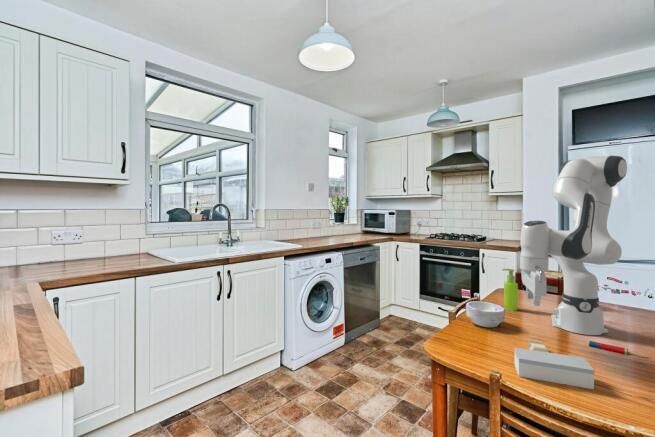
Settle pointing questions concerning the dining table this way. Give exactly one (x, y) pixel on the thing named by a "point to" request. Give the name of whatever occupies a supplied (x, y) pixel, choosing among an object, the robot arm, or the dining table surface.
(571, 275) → the robot arm
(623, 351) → the popsicle
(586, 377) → the end cap
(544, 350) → the slat
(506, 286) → the soap dispenser
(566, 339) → the dining table surface
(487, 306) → the paper bowls
